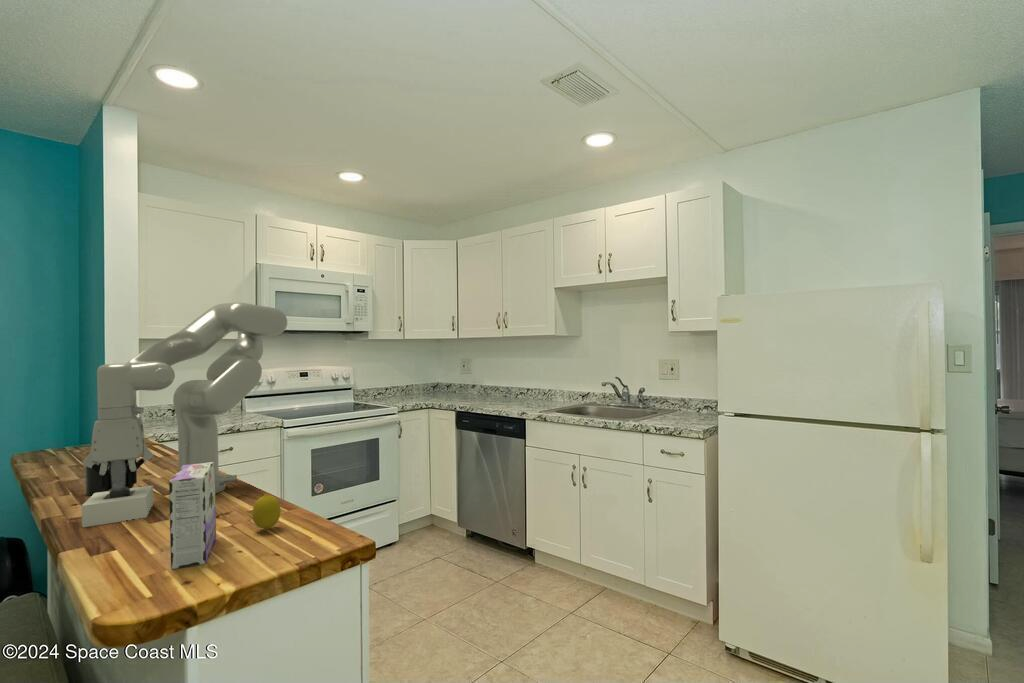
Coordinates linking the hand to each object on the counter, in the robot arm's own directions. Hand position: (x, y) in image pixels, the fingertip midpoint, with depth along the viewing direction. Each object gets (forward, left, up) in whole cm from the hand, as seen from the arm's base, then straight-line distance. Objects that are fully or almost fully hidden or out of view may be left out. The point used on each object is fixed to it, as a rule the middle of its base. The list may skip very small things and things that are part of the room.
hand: (119, 487), depth 124 cm
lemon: (-31, +32, -7) cm, 45 cm away
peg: (0, 0, -3) cm, 3 cm away
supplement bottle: (+9, -29, -7) cm, 31 cm away
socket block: (0, 0, -7) cm, 7 cm away
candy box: (-18, +38, -7) cm, 43 cm away
